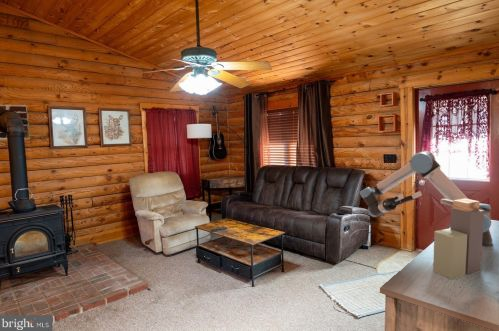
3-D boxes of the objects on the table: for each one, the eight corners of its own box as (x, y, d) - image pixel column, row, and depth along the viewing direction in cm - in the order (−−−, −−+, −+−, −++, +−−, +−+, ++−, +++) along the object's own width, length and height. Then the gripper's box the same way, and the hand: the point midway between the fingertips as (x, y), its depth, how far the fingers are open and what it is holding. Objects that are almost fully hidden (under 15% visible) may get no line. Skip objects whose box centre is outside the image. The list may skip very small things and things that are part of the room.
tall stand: (461, 263, 162) (464, 205, 158) (480, 271, 153) (484, 210, 149) (448, 266, 159) (451, 208, 155) (467, 275, 150) (470, 212, 146)
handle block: (447, 202, 166) (447, 194, 165) (479, 209, 151) (479, 201, 151) (436, 204, 163) (436, 196, 163) (467, 211, 148) (467, 203, 148)
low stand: (446, 267, 158) (448, 228, 156) (465, 275, 150) (467, 234, 147) (433, 270, 155) (434, 231, 153) (451, 279, 146) (453, 237, 144)
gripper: (404, 208, 203) (430, 198, 185) (373, 213, 195) (397, 203, 176) (400, 197, 206) (425, 186, 187) (369, 202, 197) (392, 190, 179)
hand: (411, 194), depth 182 cm, fingers open, 13 cm apart
